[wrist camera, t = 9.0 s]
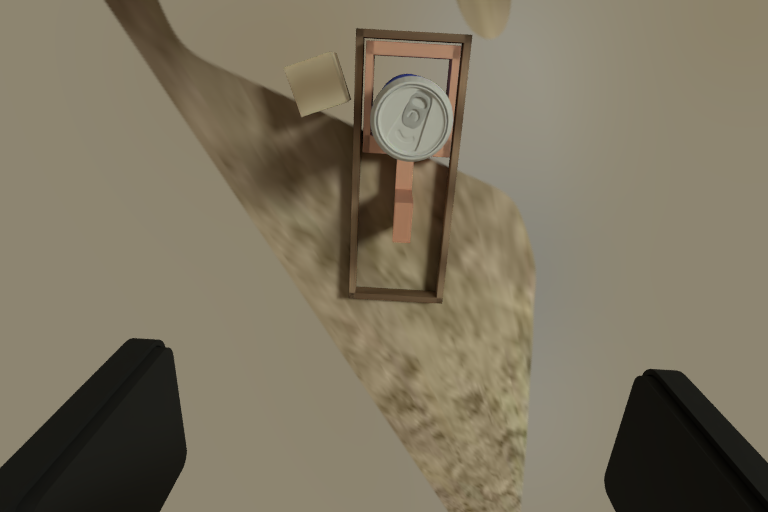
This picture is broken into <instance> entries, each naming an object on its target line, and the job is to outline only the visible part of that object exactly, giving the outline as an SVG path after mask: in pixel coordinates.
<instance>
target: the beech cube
mask: <svg viewBox="0 0 768 512" xmlns="http://www.w3.org/2000/svg"><path fill="white" fill-rule="evenodd" d="M284 70H285V73H286V75H287V78H288V81H289V84H290V87H291V89H292V92H293V95H294V98H295V101H296V103H297V106H298V109H299V112H300V115H301V117H303V116H306V115H309V114H312V113H315V112H318V111H321V110H324V109H328V108H331V107H334V106H337V105H340V104H343V103H346V102H348V101H349V100H351V98H350V94H349V92H348V88H347V85H346V82H345V79H344V75H343V72H342V69H341V66H340V63H339V60H338V57H337V53H333V52H328V53H325V54H322V55H320V56H316V57H313V58H310V59H307V60H305V61H302V62H299V63H296V64H293V65H290V66H287V67H284Z"/></svg>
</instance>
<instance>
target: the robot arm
mask: <svg viewBox="0 0 768 512" xmlns="http://www.w3.org/2000/svg"><path fill="white" fill-rule="evenodd" d="M186 449H187V448H186V441H185V434H184V427H183V420H182V413H181V406H180V399H179V392H178V385H177V378H176V370H175V364H174V356H173V352H172V350H171V349H170V348H166V347H165V345H164V343H163V341H161V340H154V339H137V338H132V339H129V340H128V341H126V342H125V343H124V344H123V345H122V346H121V347H120V348H119V349H118V350H117V351H116V352H115V353H114V354H113V355H112V356H111V357H110V358H109V359H108V360H107V361H106V362H105V363H104V364H103V365H102V366H101V367H100V368H99V370H97V371H96V372H95V373H94V374H93V375H92V376H91V377H90V378H89V379H88V381H86V382H85V383H84V384H83V385H82V386H81V387H80V389H78V390H77V391H76V392H75V394H73V395H72V396H71V397H70V399H68V400H67V401H66V402H65V403H64V404H63V406H61V407H60V409H58V410H57V412H56V413H55V414H54V415H53V416H52V417H51V418H50V419H49V420H48V421H47V422H46V423H45V424H44V425H43V426H42V427H41V428H40V429H39V430H38V431H37V432H36V433H35V434H34V435H33V436H32V437H31V438H30V439H29V440H28V441H27V442H26V443H25V444H24V445H23V446H22V447H21V448H20V449H19V450H18V451H17V452H16V453H15V454H14V455H13V456H12V457H11V458H10V459H9V460H8V461H7V462H6V463H5V464H4V465H3V466H2V467H1V468H0V512H160V510H161V508H162V506H163V505H164V503H165V501H166V499H167V497H168V495H169V493H170V492H171V490H172V488H173V486H174V484H175V482H176V480H177V478H178V477H179V475H180V473H181V471H182V469H183V467H184V463H185V460H186V454H187V450H186ZM604 482H605V489H606V493H607V495H608V497H609V499H610V501H611V503H612V505H613V507H614V509H615V511H616V512H768V463H767V462H766V461H765V459H763V458H762V456H761V455H760V454H759V453H758V452H757V451H756V450H755V449H754V448H753V447H752V446H751V445H750V443H748V442H747V440H746V439H745V438H744V437H743V436H742V435H741V434H740V433H739V432H738V431H737V430H736V429H735V428H734V427H733V426H732V424H731V423H730V422H729V421H728V420H727V419H726V418H725V417H724V416H723V415H722V414H721V413H720V412H719V411H718V409H717V408H716V407H714V405H713V404H712V403H711V402H710V401H709V400H708V399H707V398H706V397H705V396H704V395H703V394H702V393H701V391H700V390H699V389H698V388H697V387H696V386H695V385H694V384H693V383H692V382H691V381H690V380H689V379H688V378H687V377H686V376H685V375H684V374H683V373H682V372H680V371H674V370H657V369H648V370H646V371H645V372H644V373H643V375H642V376H638V377H637V378H635V380H634V383H633V386H632V389H631V392H630V395H629V399H628V402H627V405H626V408H625V412H624V415H623V418H622V421H621V424H620V428H619V431H618V434H617V437H616V440H615V444H614V447H613V450H612V453H611V457H610V460H609V463H608V466H607V469H606V473H605V478H604Z"/></svg>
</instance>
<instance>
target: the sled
mask: <svg viewBox="0 0 768 512" xmlns="http://www.w3.org/2000/svg"><path fill="white" fill-rule="evenodd" d="M366 42H367V43H366V70H365V98H364V99H365V100H364V127H363V152H364V153H381V154H387V153H385V152H384V151H383V150H382V149H381V148H380V147H379V145H378V144H377V142H376V141H375V139H374V136H373V134H372V132H371V131H372V130H371V124H370V114H371V109H372V106H373V83H374V82H373V81H374V59H375V55H381V56H399V57H416V58H417V57H418V58H434V59H449V70H448V80H447V90H446V95H447V97H448V98H449V101H450V103H451V106H452V111H453V120H454V110H455V101H456V91H457V82H458V72H459V63H460V54H461V46H455V45H437V44H419V43H403V42H402V43H401V42H385V41H366ZM452 129H453V126H452ZM451 139H452V130H451V133H450V136H449V138H448V140H447V141H446V143H445V144H444V146H443V147H442V148H441V149H440V150H439V151H438V152H437V153H436V154H434V155H433V157H450V148H451ZM413 164H414V162H405V161H401V160H398V159H397V167H396V182H395V198H394V214H393V242H401V243H410V238H411V225H412V212H413V198H412V177H413Z"/></svg>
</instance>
